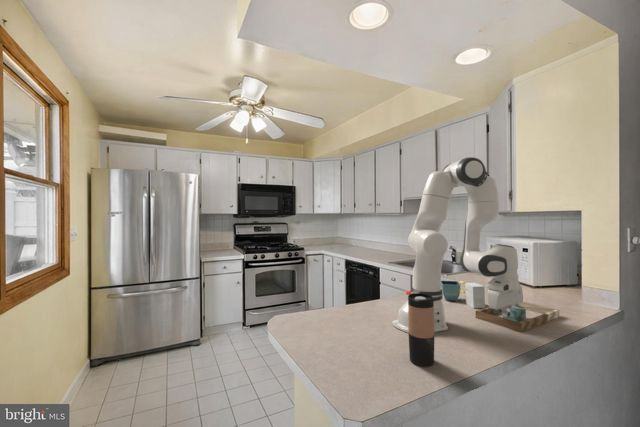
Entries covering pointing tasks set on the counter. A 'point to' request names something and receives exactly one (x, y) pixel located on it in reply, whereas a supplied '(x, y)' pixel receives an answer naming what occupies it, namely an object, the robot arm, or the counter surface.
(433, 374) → the counter surface
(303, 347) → the counter surface
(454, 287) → the flower pot
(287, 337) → the counter surface
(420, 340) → the travel mug
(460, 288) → the watch
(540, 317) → the striped wooden tray
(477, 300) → the small box
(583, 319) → the counter surface
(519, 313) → the teal block
